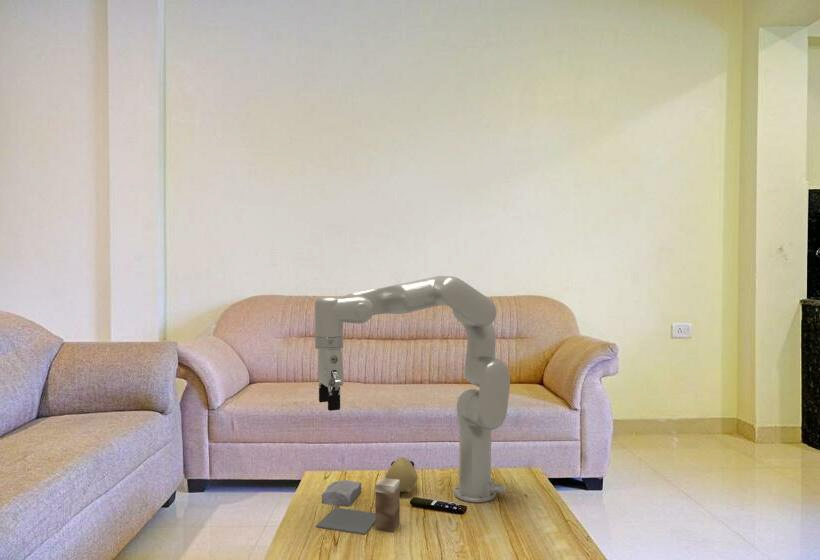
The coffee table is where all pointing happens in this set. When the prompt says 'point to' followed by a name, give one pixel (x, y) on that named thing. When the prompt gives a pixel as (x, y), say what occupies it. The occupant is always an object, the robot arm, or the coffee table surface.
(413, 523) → the coffee table surface
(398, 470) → the tan rounded figure
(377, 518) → the walnut block
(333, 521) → the rubber mat
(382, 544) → the coffee table surface
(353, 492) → the stone block
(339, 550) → the coffee table surface
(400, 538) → the coffee table surface
